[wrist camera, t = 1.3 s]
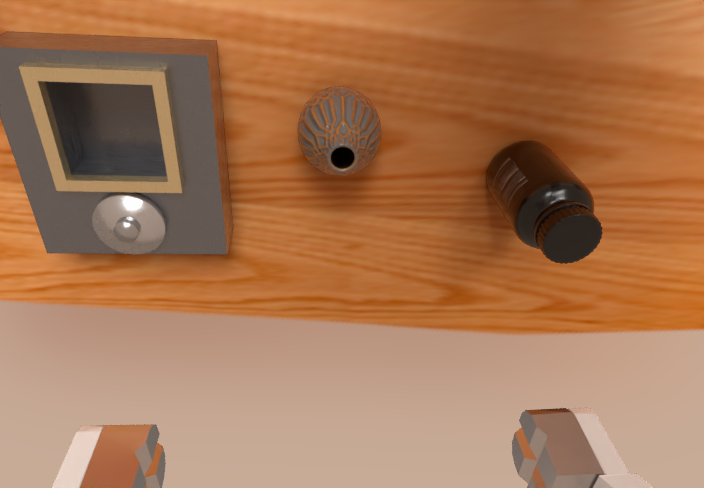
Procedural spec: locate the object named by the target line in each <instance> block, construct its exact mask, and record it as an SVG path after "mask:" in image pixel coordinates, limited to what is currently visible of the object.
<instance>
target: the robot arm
mask: <svg viewBox="0 0 704 488" xmlns="http://www.w3.org/2000/svg"><path fill="white" fill-rule="evenodd" d="M519 421H520V423H521V426H522V428H521V429H519V430H518V431H517V432H515V434H514V438H513V441H512V454H513V459H514V464H515V467H516V469H517V472H518V475H519V476H520V477H521V478H523V479H524V480H525V481H526V482H527V483H528V487H527V488H654V487H653V486H652V485H650V484H649V483H648V482H646V481H645V480H644V479H642V478H641V477H640V476H639V475H637V474H635V473H634V474H632V473H629V472H628V470H627V468H626V467H625V465H624V463H623V461H622V459H621V458H620V456H619V454H618V452H617V451H616V449H615V447H614V446H613V444H612V442H611V440H610V438H609V436H608V435H607V433H606V431H605V429H604V428H603V426H602V424H601V422H600V421H599V419H598V417H597V415H596V414H595V412H594V411H593V410H592V409H591V408H575V409H566V408H560V409H541V410H525V411H524V412H523V413H522V414H521V417H520V420H519ZM158 437H159V431H158V429H157V425H100V426H99V425H98V426H81V427H80V429H79V430H78V431H77V432H76V433H75V435H74V438H73V440H72V442H71V445H70V447H69V449H68V451H67V454H66V456H65V458H64V460H63V463H62V465H61V467H60V470H59V472H58V474H57V477H56V479H55V481H54V484H53V486H52V488H162V485H163V480H164V472H165V453H164V449H163V446H161V445H160V444H158V443H157V441H158Z"/></svg>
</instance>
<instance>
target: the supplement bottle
mask: <svg viewBox="0 0 704 488" xmlns="http://www.w3.org/2000/svg"><path fill="white" fill-rule="evenodd" d="M487 186H488V189H489V191H490V193H491V195H492V196H493V198H494V200H495V201H496V203H497V205H498V206H499V208H500V209H501V211H502V213H503V214H504V216H505V217H506V219H507V221H508V222H509V224H510V225H511V227H512V229H513V230H514V232H515V233H516V235H517V236H518V237H519V239H520V240H521V241H522V242H524V243H525V244H527V245H529V246H531V247H534V248H537V249H540V250H541V251H542V252H543V254H544V255H545V256H546V257H547V258H548V259H550V260H551V261H554V262H556V263H561V264H562V263H565V264H567V263H573V262H575V261H579V260H580V259H583V258H584V257H585V256H588V255H589V254H590V253H591V252H593V250H594V249H595V248H596V247H597V245H598V244H599V243H600V239H601V238H602V236H601V235H602V227H601V223H600V222H599V221H598V219H597V218H596V217H595V215H594V201H593V197H592V195H591V193H590V191H589V190H588V188H587V187H586V186H585V185H584V184H583V183H582V182H581V181H580V180H579V179H578V178H577V176H576V175H575V174H574V173H573V172H572V171H571V170H570V169H569V168H568V167H567V166H566V165H565V164H564V163H563V162H562V161H561V160H560V159H559V158H558V157H557V156H556V155H555V154H554V153H553V152H552V151H551V150H550V149H549V148H548V147H547V146H545V145H544V144H542V143H539V142H535V141H522V142H517V143H514V144H512V145H510V146H508V147H506V148H505V149H503V150H502V151H501V152H500V153H499V154H497V156H496V157H495V158H494V159H493V161H492V162H491V164H490V166H489V169H488V172H487Z"/></svg>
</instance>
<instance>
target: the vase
mask: <svg viewBox="0 0 704 488" xmlns="http://www.w3.org/2000/svg"><path fill="white" fill-rule="evenodd" d="M298 140H299V144H300V147H301V149H302V151H303V153H304V155H305V157H306V158H307V159H308V161H309V162H310V163H311V164H312V165H313V166H314V167H316V168H317V169H318V170H320V171H322V172H324V173H326V174H329V175H334V176H346V175H351V174H354V173H356V172H358V171H360V170H362V169H363V168H364V167H366V166H367V165H368V164H369V163H370V162H371V160H372V159H373V158H374V156H375V154H376V152H377V150H378V148H379V144H380V140H381V124H380V119H379V116H378V114H377V111H376V110H375V108H374V106H373V105H372V103H371V102H370V101H369V100H368V99H367V98H366V97H365V96H364V95H363V94H361V93H360V92H358V91H356V90H354V89H351V88H347V87H331V88H327V89H324V90H322V91H320V92H318V93H317V94H315V95H314V96H313V97H312V98H311V99H310V100H309V101H308V102H307V103H306V105H305V106H304V108H303V110H302V112H301V115H300V118H299V122H298Z"/></svg>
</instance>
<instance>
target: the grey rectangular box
mask: <svg viewBox="0 0 704 488" xmlns="http://www.w3.org/2000/svg"><path fill="white" fill-rule="evenodd" d="M0 117H1V120H2V123H3V126H4V129H5V132H6V135H7V138H8V141H9V143H10V146H11V149H12V152H13V155H14V158H15V161H16V164H17V167H18V170H19V172H20V175H21V178H22V181H23V184H24V187H25V190H26V193H27V196H28V199H29V201H30V204H31V207H32V210H33V213H34V216H35V219H36V222H37V225H38V228H39V230H40V233H41V236H42V239H43V242H44V245H45V248H46V251H47V253H94V254H135V255H136V254H227V253H228V249H229V245H230V240H231V236H232V231H233V220H232V209H231V198H230V186H229V175H228V164H227V152H226V141H225V130H224V119H223V107H222V96H221V85H220V73H219V62H218V51H217V40H194V39H171V38H148V37H124V36H101V35H77V34H54V33H30V32H5V33H3V34H1V35H0Z"/></svg>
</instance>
